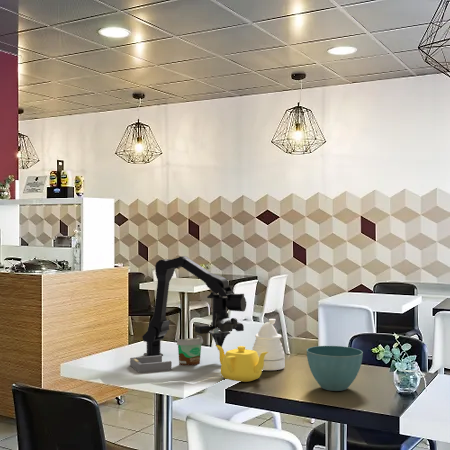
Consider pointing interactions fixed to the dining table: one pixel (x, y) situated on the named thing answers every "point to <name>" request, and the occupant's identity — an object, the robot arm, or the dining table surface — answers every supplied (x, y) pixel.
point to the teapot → (241, 364)
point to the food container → (189, 351)
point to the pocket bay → (150, 364)
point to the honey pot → (270, 346)
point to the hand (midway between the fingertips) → (219, 349)
